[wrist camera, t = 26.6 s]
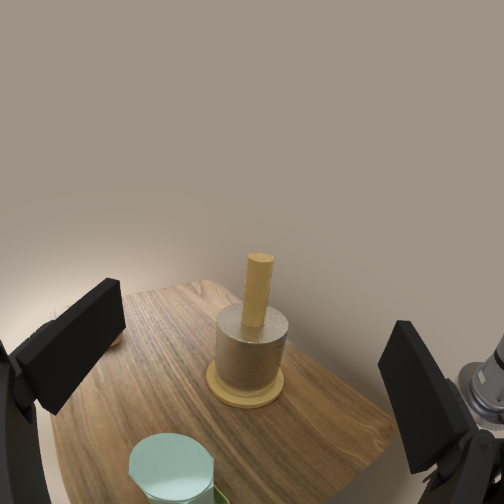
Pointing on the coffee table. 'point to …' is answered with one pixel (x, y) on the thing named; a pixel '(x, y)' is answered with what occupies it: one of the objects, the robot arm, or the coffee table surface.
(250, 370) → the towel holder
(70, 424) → the coffee table surface
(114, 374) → the coffee table surface
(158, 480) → the jar
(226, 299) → the coffee table surface
